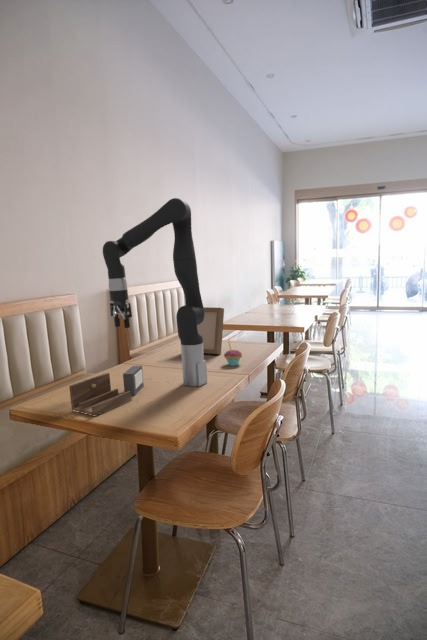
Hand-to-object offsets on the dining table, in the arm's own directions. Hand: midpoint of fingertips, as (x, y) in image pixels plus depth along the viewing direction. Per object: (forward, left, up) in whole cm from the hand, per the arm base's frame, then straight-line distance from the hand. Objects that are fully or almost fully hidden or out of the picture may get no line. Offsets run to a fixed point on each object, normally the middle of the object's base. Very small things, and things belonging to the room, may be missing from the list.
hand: (122, 327), depth 179 cm
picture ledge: (-12, +26, -24) cm, 38 cm away
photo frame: (0, -62, -25) cm, 67 cm away
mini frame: (-11, +8, -25) cm, 28 cm away
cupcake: (-28, -43, -25) cm, 57 cm away
